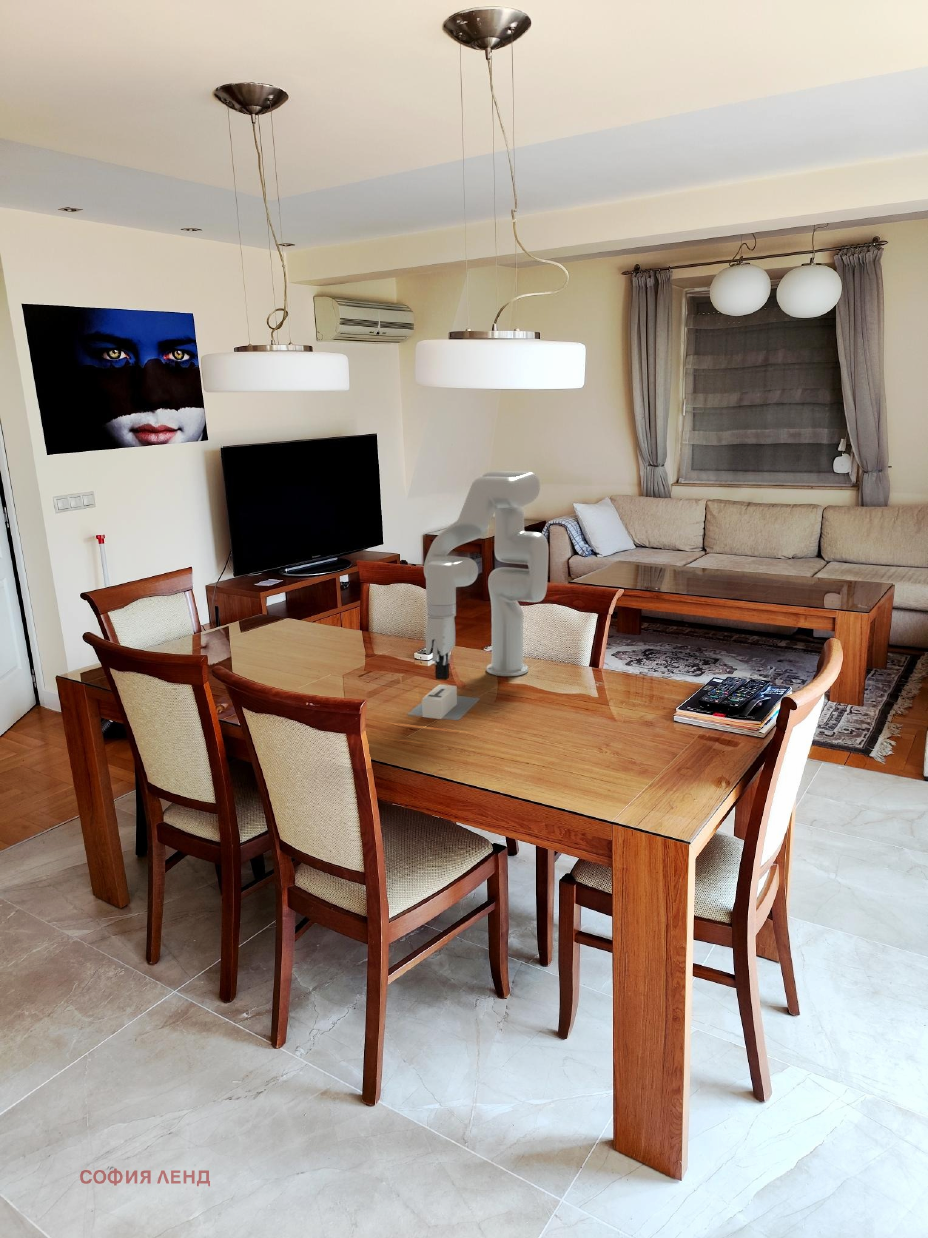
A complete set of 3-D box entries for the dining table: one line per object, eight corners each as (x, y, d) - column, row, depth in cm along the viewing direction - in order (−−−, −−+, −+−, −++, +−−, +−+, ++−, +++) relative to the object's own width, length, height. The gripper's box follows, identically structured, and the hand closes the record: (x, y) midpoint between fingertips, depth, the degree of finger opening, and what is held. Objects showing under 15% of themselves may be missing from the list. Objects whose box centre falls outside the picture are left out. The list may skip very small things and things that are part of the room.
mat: (432, 695, 234) (432, 693, 234) (480, 700, 230) (480, 698, 229) (407, 716, 218) (407, 714, 217) (458, 722, 213) (458, 720, 213)
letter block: (439, 683, 225) (422, 697, 214) (456, 685, 224) (440, 699, 213) (439, 702, 226) (422, 717, 215) (456, 704, 225) (440, 719, 214)
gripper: (438, 602, 224) (439, 669, 228) (416, 615, 210) (418, 685, 214) (464, 604, 222) (465, 671, 226) (444, 617, 208) (445, 688, 212)
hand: (442, 678), depth 220 cm, fingers closed
